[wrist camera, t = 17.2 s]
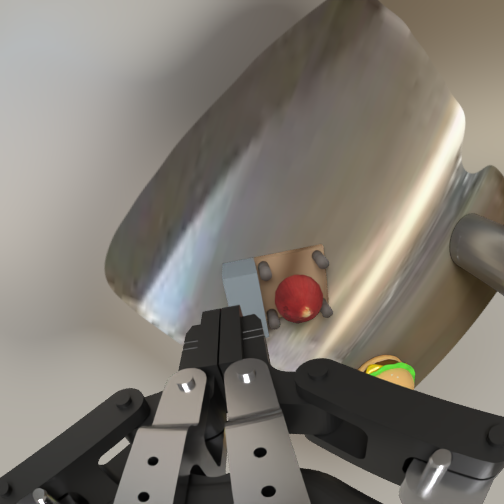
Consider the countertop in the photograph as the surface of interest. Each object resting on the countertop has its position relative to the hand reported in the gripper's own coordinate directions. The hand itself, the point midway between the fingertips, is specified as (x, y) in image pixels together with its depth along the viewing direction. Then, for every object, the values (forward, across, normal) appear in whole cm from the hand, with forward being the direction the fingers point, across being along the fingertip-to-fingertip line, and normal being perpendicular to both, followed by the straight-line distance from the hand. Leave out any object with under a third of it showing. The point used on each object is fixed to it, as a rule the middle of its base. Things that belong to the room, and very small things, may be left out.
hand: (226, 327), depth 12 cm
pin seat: (+27, -4, +12) cm, 29 cm away
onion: (+26, -6, +12) cm, 29 cm away
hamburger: (+27, -18, +34) cm, 47 cm away
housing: (+26, +1, +12) cm, 29 cm away
